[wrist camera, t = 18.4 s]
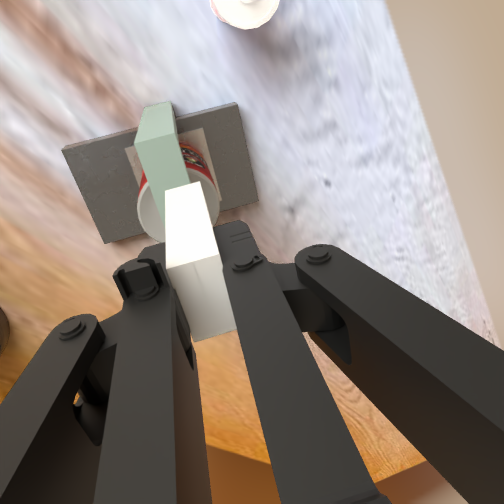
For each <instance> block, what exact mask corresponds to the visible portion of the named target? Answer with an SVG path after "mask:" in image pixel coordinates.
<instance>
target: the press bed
mask: <svg viewBox="0 0 504 504" xmlns="http://www.w3.org/2000/svg"><path fill="white" fill-rule="evenodd" d="M175 121H176V127H177V134H178V140H179V144H181V145H186V146H189V147H191V148H193V149H195V150H196V151H198V152H199V153H200V154H201V155H202V156H203V158H204V159H205V161H206V163H207V165H208V168H209V170H210V173H211V176H212V178H213V181H214V183H215V186H216V189H217V192H218V195H219V200H220V211H219V212H221V211H225V210H228V209H232V208H235V207H239V206H243V205H246V204H250V203H253V202H257V201H259V200H258V196H257V191H256V187H255V182H254V178H253V173H252V169H251V164H250V159H249V155H248V150H247V146H246V141H245V137H244V132H243V127H242V123H241V118H240V114H239V109H238V105H237V104H236V103H235V102H233V103H229V104H225V105H221V106H218V107H214V108H210V109H206V110H202V111H198V112H194V113H191V114H187V115H183V116H179V117H175ZM138 128H139V127H137V128H133V129H129V130H125V131H121V132H117V133H114V134H110V135H106V136H102V137H98V138H94V139H90V140H87V141H83V142H79V143H75V144H71V145H67V146H65V147H64V148H63V149H62V150H61V151H62V153H63V155H64V157H65V159H66V161H67V164H68V166H69V168H70V170H71V172H72V174H73V177H74V179H75V181H76V183H77V185H78V187H79V190H80V192H81V194H82V196H83V198H84V200H85V203H86V205H87V207H88V209H89V211H90V214H91V216H92V218H93V220H94V222H95V224H96V227H97V229H98V231H99V233H100V235H101V237H102V240H103V242H104V244H107V243H110V242H114V241H117V240H121V239H125V238H128V237H132V236H135V235H139V234H142V233H146V232H145V231H144V229H143V227H142V226H141V224H140V221H139V218H138V211H137V202H138V194H139V189H140V183H141V178H142V172H143V167H142V165H141V162H140V159H139V156H138V153H137V151H136V148H135V145H134V141H135V138H136V134H137V131H138Z"/></svg>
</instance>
